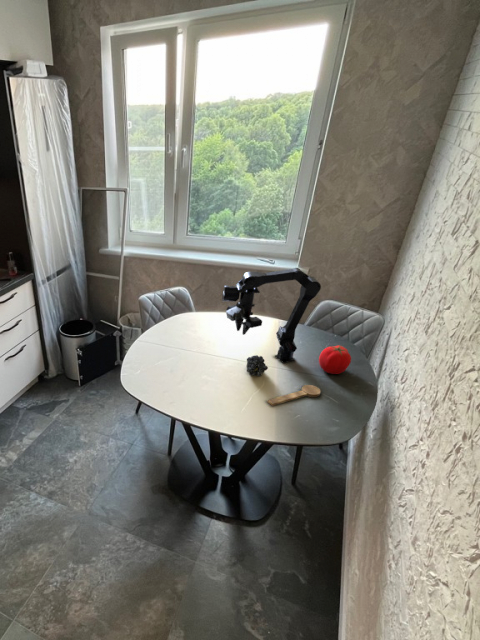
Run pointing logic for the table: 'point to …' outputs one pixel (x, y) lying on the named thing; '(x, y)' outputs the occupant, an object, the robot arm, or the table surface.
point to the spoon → (297, 395)
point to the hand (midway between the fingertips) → (240, 332)
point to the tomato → (334, 359)
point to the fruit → (256, 365)
